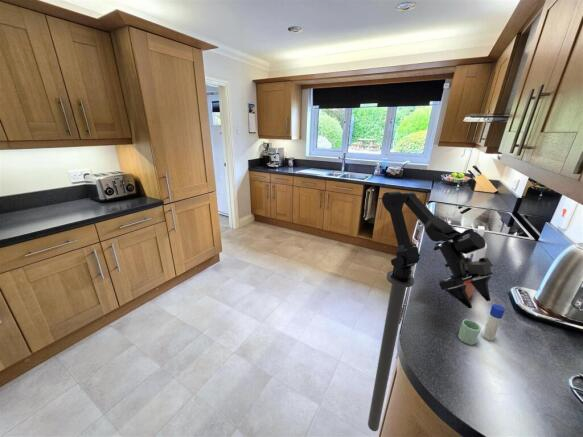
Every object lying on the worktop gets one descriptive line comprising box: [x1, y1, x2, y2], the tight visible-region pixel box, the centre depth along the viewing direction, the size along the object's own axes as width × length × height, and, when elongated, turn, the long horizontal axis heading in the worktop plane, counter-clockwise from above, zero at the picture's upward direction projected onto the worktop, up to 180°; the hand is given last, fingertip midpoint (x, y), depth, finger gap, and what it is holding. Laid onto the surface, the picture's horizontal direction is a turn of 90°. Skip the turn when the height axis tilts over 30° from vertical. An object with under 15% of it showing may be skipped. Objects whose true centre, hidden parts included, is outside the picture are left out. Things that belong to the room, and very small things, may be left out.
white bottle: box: [464, 225, 488, 261], centre depth 100 cm, size 7×12×25 cm, turn 141°
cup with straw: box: [462, 254, 476, 299], centre depth 94 cm, size 9×9×18 cm
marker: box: [482, 303, 506, 341], centre depth 74 cm, size 3×3×12 cm
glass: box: [457, 318, 482, 346], centre depth 75 cm, size 5×5×6 cm
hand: (479, 304), depth 77 cm, fingers open, 9 cm apart
